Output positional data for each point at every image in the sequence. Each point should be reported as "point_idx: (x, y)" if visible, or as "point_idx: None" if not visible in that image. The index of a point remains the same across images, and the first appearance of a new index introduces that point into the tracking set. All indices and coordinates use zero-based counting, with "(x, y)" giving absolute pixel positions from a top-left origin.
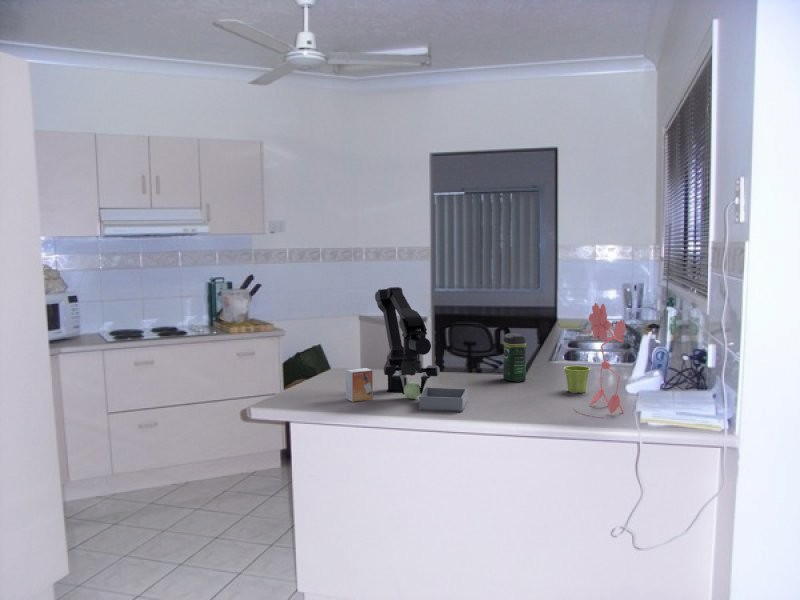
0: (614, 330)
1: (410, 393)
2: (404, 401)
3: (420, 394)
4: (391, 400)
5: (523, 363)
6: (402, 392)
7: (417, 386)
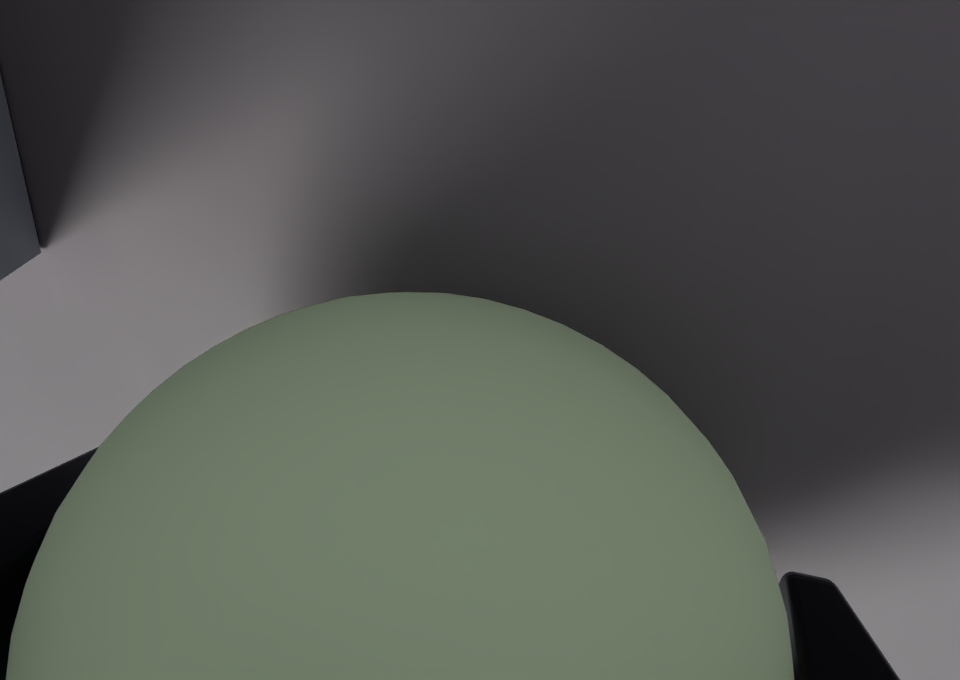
0: None
1: (451, 329)
2: (763, 67)
3: None
4: None
5: None
6: (849, 632)
7: (18, 667)
